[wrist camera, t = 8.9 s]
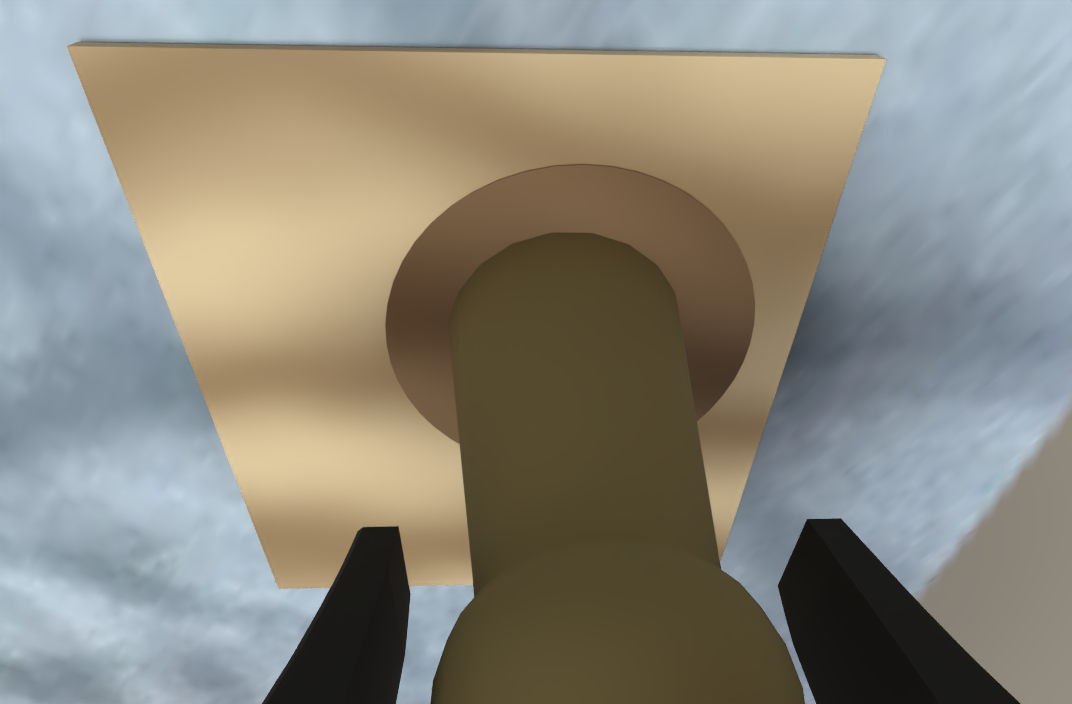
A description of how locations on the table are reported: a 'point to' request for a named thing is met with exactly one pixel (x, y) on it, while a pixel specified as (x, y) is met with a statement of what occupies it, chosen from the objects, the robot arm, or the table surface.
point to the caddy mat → (455, 244)
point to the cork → (590, 496)
